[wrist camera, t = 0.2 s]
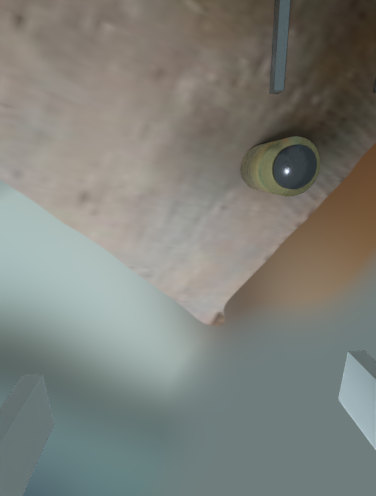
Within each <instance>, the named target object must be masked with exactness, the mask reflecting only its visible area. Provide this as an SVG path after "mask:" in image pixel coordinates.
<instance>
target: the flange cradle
mask: <svg viewBox="0 0 376 496" xmlns="http://www.w3.org/2000/svg"><path fill="white" fill-rule="evenodd" d="M289 13H290V0H275V11H274V27H273V44H272V60H271V76H270V93H269V94H279V93H280V92H282V91H283V90H284V79H285V66H286V53H287V40H288V26H289ZM373 93H376V79H375V85H374V91H373Z"/></svg>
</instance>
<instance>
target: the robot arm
mask: <svg viewBox="0 0 376 496" xmlns="http://www.w3.org/2000/svg"><path fill="white" fill-rule="evenodd" d="M339 401H340V403H341V404H342V405H343V407H344V408H345V409H346V411H347V412H348V413H349V415H350V416H351V417H352V419H353V420H354V421H355V423H356V424H357V425H358V427H359V428H360V430H361V431H362V432H363V434H364V435H365V436H366V438H367V439H368V440H369V442H370V443H371V444H372V446H373V447H374V448H375V450H376V361H375V360H374V359H373V358H372V357H371V356H370V355H369V354H368V353H367V352H366V351H364V350H362V351H349V352H348V354H347V359H346V364H345V369H344V374H343V379H342V384H341V388H340V393H339ZM53 426H54V420H53V415H52V411H51V407H50V403H49V399H48V394H47V390H46V386H45V382H44V378H43V374H30V375H23V376H22V377H21V379H20V380H19V382H18V383H17V384H16V386H15V387H14V389H13V390H12V392H11V393H10V394H9V396H8V397H7V399H6V400H5V402H4V403H3V404H2V406H1V407H0V496H23V493H24V491H25V489H26V486H27V484H28V482H29V480H30V478H31V475H32V473H33V471H34V468H35V466H36V464H37V462H38V460H39V457H40V455H41V453H42V451H43V448H44V446H45V444H46V442H47V440H48V437H49V435H50V433H51V431H52V428H53Z"/></svg>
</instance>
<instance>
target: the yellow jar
mask: <svg viewBox="0 0 376 496" xmlns="http://www.w3.org/2000/svg"><path fill="white" fill-rule="evenodd" d="M319 169H320V156H319V153H318V150H317V148H316V147H315V145H314V144H313V143H312V142H311V141H309V140H308V139H306V138H303V137H297V136H294V137H288V138H285V139H281V140H277V141H273V142H269V143H265V144H261V145H257V146H255V147H253V148H252V149H250V150H249V151H248V152H247V153H246V154H245V156H244V158H243V160H242V163H241V175H242V178H243V180H244V182H245V183H246V184H247V185H248V186H249V187H251V188H253V189H257V190H261V191H265V192H269V193H273V194H278V195H282V196H296V195H299V194H301V193H303V192H304V191H306V190H307V189H308V188H310V186H311V185H312V184H313V183H314V181H315V180H316V178H317V176H318V173H319Z"/></svg>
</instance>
